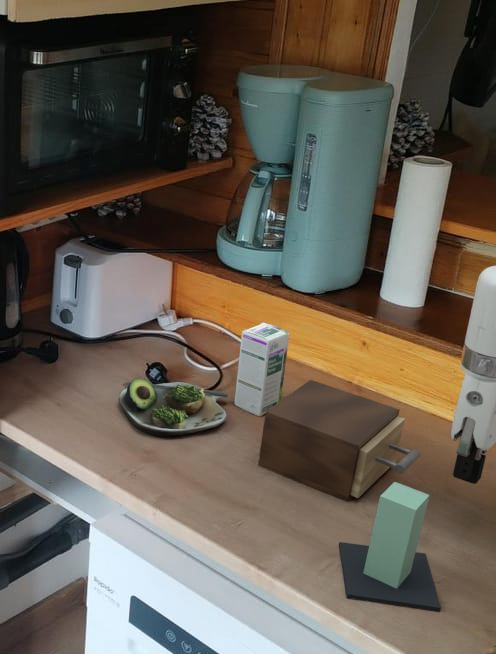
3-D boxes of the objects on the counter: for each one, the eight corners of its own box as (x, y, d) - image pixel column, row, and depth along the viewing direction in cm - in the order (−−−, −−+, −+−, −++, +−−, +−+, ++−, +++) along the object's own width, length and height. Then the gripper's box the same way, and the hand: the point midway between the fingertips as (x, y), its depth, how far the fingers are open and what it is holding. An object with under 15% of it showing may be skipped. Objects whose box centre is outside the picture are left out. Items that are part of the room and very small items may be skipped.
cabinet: (388, 463, 142) (399, 409, 137) (347, 502, 132) (358, 445, 128) (301, 430, 151) (310, 379, 146) (257, 465, 141) (265, 411, 137)
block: (410, 572, 117) (429, 495, 111) (396, 588, 114) (416, 510, 109) (377, 557, 119) (394, 481, 114) (363, 573, 117) (380, 495, 111)
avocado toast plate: (207, 382, 166) (210, 359, 164) (252, 430, 151) (255, 405, 149) (107, 393, 162) (108, 370, 160) (142, 443, 147) (144, 418, 145)
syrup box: (260, 417, 154) (271, 340, 148) (232, 404, 159) (241, 329, 152) (280, 407, 158) (291, 331, 151) (252, 395, 162) (262, 320, 155)
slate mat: (424, 556, 121) (425, 553, 120) (440, 611, 111) (441, 607, 111) (338, 545, 123) (339, 541, 123) (346, 598, 113) (347, 594, 113)
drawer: (423, 472, 138) (433, 428, 134) (387, 510, 129) (397, 463, 125) (314, 432, 148) (321, 390, 145) (273, 464, 140) (280, 420, 136)
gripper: (505, 388, 111) (475, 511, 119) (541, 349, 121) (512, 466, 129) (442, 370, 116) (418, 491, 124) (482, 334, 126) (457, 448, 134)
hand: (466, 478), depth 126 cm, fingers closed
